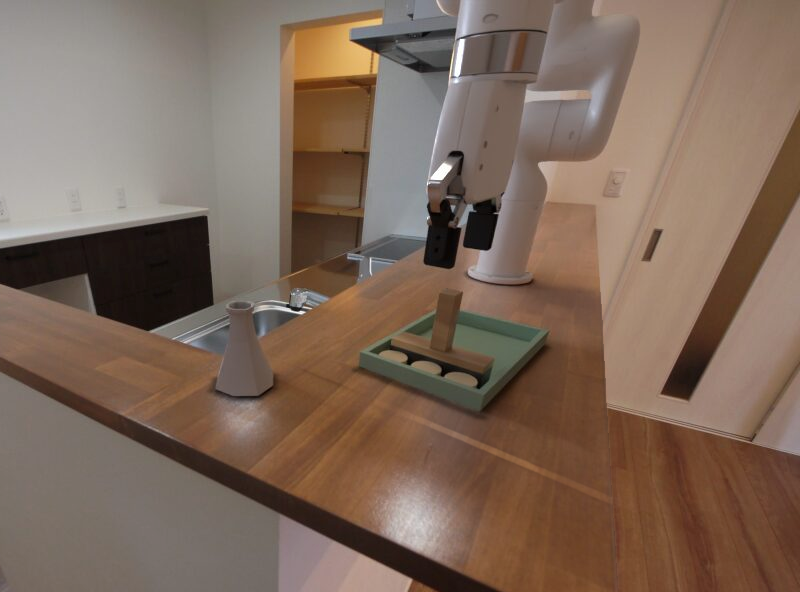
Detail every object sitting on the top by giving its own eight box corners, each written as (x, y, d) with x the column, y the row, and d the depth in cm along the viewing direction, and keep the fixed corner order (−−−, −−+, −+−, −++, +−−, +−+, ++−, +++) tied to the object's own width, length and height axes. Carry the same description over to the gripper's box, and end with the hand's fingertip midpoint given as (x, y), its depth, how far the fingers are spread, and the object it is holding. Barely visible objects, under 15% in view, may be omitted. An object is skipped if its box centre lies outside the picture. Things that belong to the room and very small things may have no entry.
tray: (440, 320, 70) (443, 304, 69) (544, 347, 61) (549, 330, 59) (358, 369, 55) (359, 351, 54) (478, 415, 46) (484, 395, 44)
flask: (229, 366, 56) (223, 292, 51) (282, 373, 54) (281, 297, 49) (204, 393, 50) (195, 312, 45) (263, 402, 48) (259, 319, 43)
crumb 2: (416, 368, 54) (418, 357, 53) (444, 377, 52) (446, 366, 51) (403, 379, 52) (405, 368, 51) (432, 388, 50) (434, 377, 49)
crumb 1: (389, 358, 57) (391, 347, 56) (412, 367, 54) (413, 357, 53) (371, 365, 55) (372, 355, 54) (393, 376, 52) (395, 365, 51)
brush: (400, 351, 58) (410, 279, 53) (489, 380, 51) (510, 300, 46) (388, 358, 56) (398, 284, 51) (479, 389, 49) (500, 307, 44)
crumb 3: (448, 379, 51) (450, 368, 51) (479, 388, 49) (481, 377, 49) (437, 392, 49) (439, 380, 48) (469, 402, 47) (472, 390, 46)
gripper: (489, 75, 46) (459, 239, 55) (408, 61, 35) (387, 267, 44) (566, 68, 42) (520, 247, 50) (502, 50, 31) (457, 282, 40)
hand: (458, 257), depth 47 cm, fingers open, 9 cm apart
